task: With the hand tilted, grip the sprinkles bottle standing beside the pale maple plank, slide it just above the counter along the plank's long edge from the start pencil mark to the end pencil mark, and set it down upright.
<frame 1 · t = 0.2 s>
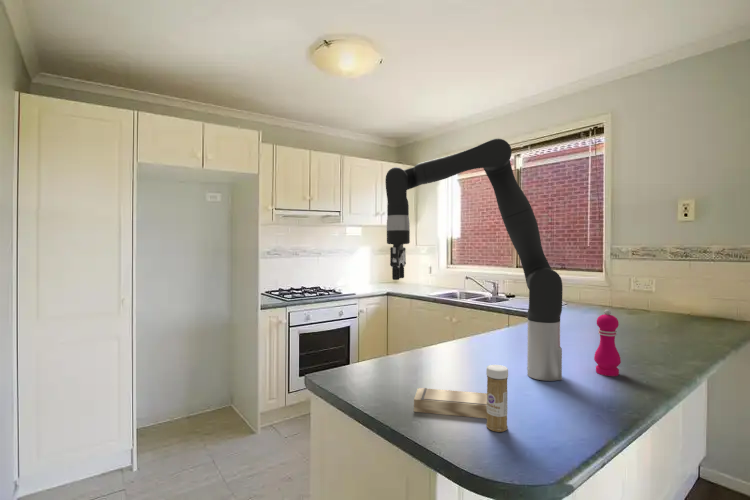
hand: (398, 278, 133), 29 cm above the worktop, tool pointing down, fingers open, 8 cm apart
sprinkles bottle: (497, 428, 89), on the worktop
maple plank: (456, 408, 99), on the worktop
pepper mill: (607, 373, 127), on the worktop
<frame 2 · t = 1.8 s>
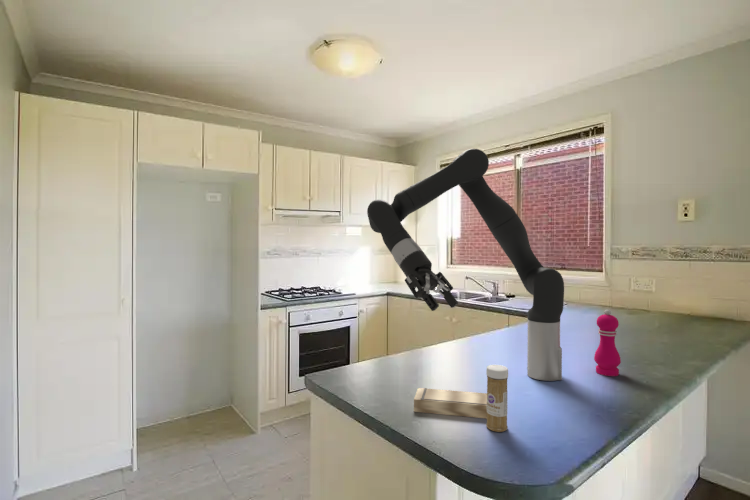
hand: (445, 307, 100), 25 cm above the worktop, tool tilted 45°, fingers open, 8 cm apart
nothing on the worktop moved.
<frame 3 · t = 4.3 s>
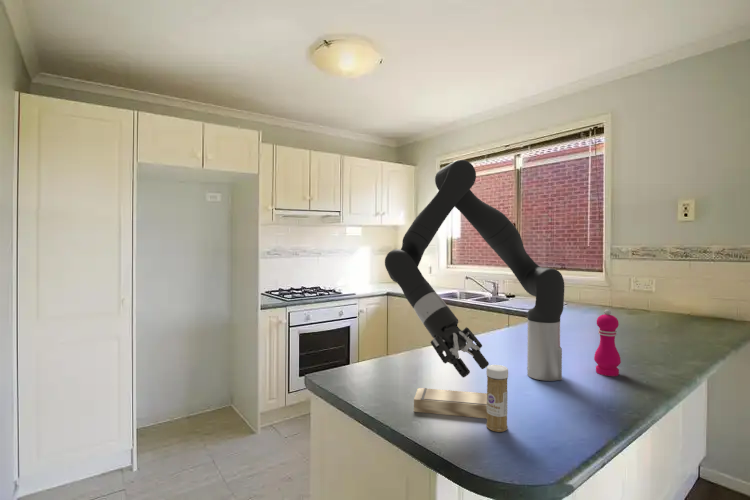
hand: (476, 371, 92), 11 cm above the worktop, tool tilted 45°, fingers open, 8 cm apart
nothing on the worktop moved.
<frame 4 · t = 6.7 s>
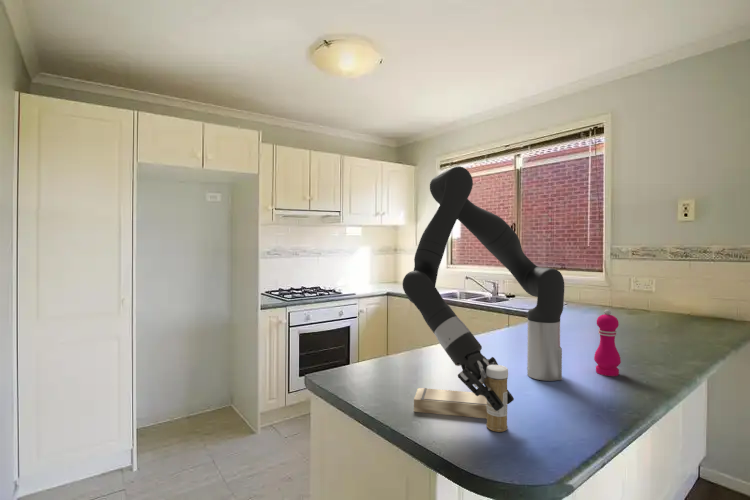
hand: (505, 405, 87), 6 cm above the worktop, tool tilted 45°, fingers closed on sprinkles bottle, 4 cm apart
sprinkles bottle: (497, 428, 89), on the worktop, touching gripper
everything else where it was.
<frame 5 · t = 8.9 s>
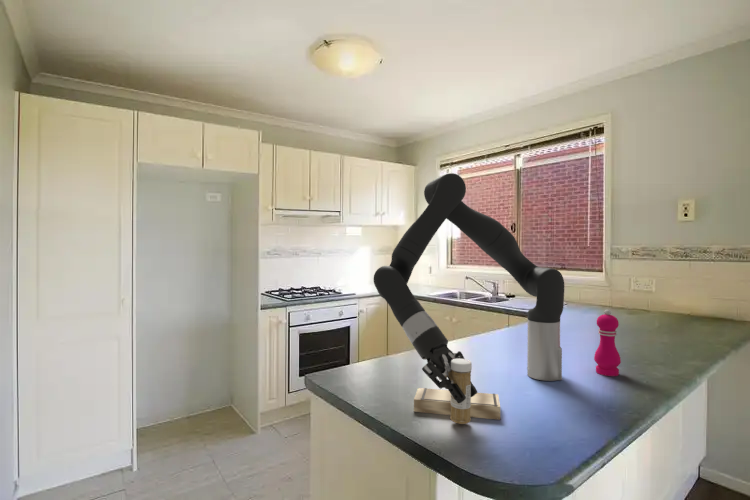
hand: (468, 397, 89), 7 cm above the worktop, tool tilted 45°, fingers closed on sprinkles bottle, 4 cm apart
sprinkles bottle: (460, 421, 90), point 1 cm above the worktop, touching gripper
everything else where it was.
when the fingers open (6 cm above the worktop, at t = 11.4 s): sprinkles bottle stays where it is, on the worktop.
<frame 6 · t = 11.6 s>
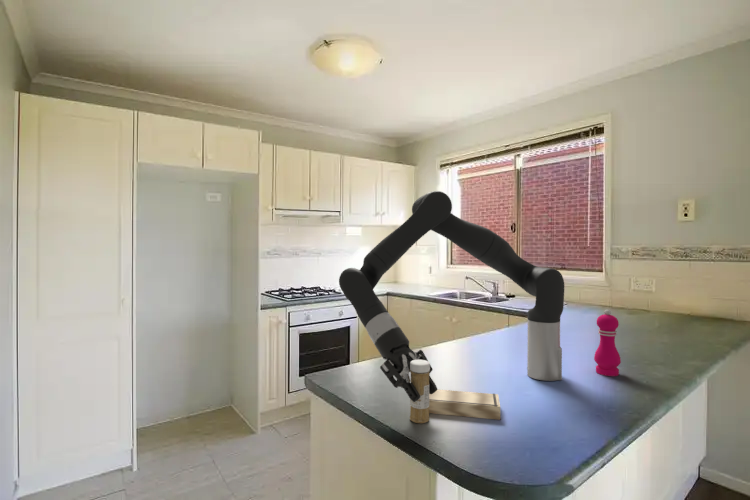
hand: (426, 395, 91), 6 cm above the worktop, tool tilted 45°, fingers open, 6 cm apart
sprinkles bottle: (419, 420, 93), on the worktop
everything else where it was.
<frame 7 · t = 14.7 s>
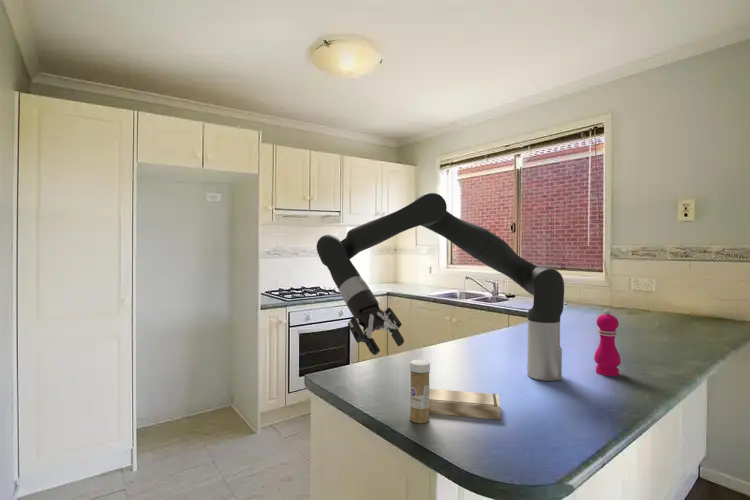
hand: (389, 348, 101), 14 cm above the worktop, tool tilted 40°, fingers open, 8 cm apart
nothing on the worktop moved.
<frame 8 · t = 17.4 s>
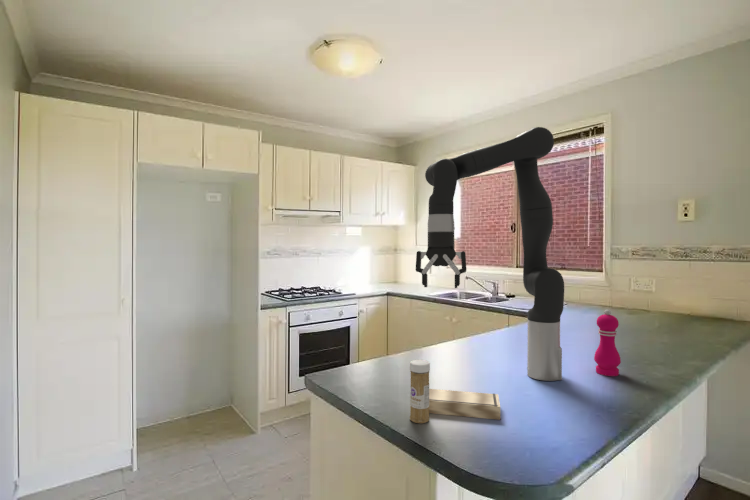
hand: (440, 287, 115), 28 cm above the worktop, tool pointing down, fingers open, 8 cm apart
nothing on the worktop moved.
at the end: sprinkles bottle 0.3 cm from the target spot, on the worktop; sprinkles bottle tilted 0°; the gripper is holding nothing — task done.
